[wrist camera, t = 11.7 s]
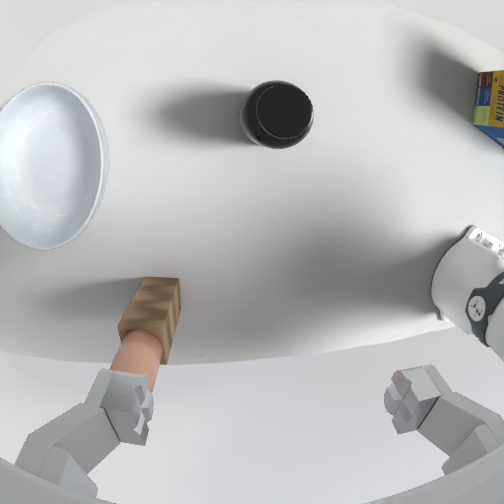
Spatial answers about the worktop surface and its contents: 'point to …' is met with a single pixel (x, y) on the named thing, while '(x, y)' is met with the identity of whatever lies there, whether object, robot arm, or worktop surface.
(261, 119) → the supplement bottle
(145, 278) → the block bottom
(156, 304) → the block middle
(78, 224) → the serving bowl
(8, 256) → the worktop surface
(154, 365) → the cylinder
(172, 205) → the worktop surface
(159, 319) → the block top
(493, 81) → the protein box
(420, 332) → the worktop surface
